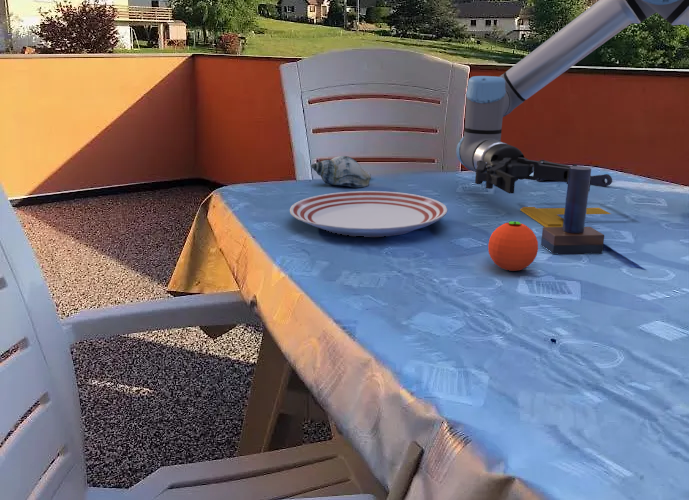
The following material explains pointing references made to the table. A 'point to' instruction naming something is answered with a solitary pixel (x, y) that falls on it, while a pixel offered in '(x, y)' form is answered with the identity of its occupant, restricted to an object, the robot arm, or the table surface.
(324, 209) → the dinner plate
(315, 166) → the seashell
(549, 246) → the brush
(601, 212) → the yellow carpenter square
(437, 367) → the table surface
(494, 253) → the clementine
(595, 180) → the bracket
